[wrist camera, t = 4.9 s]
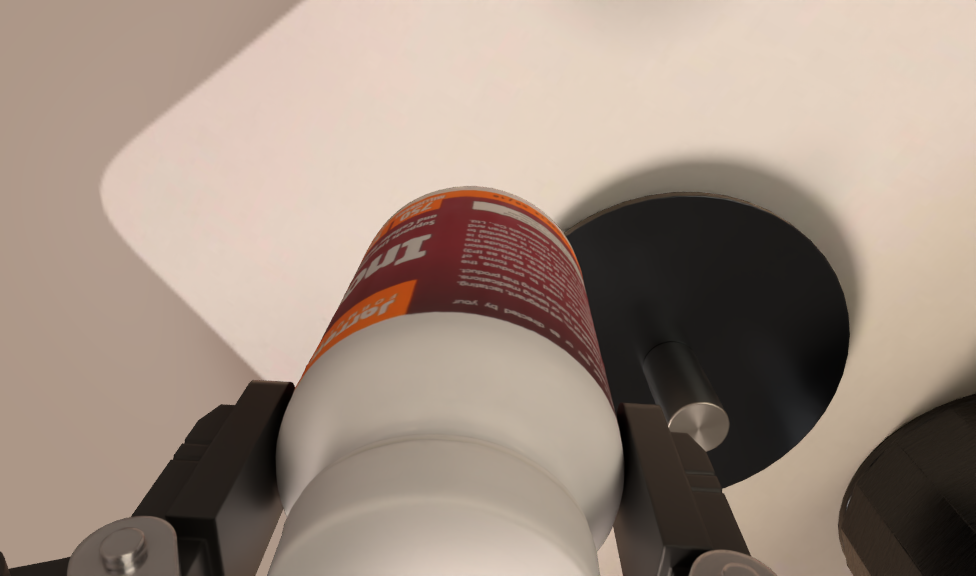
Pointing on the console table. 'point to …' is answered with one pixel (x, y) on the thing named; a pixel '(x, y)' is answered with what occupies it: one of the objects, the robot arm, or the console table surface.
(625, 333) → the bin lid
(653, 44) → the console table surface
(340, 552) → the pill bottle
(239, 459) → the robot arm
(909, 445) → the trash can
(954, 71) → the console table surface
